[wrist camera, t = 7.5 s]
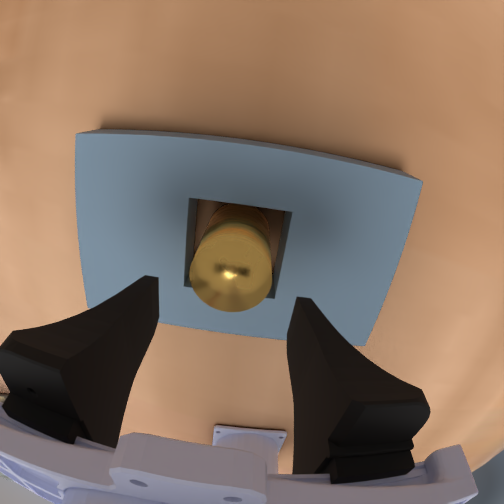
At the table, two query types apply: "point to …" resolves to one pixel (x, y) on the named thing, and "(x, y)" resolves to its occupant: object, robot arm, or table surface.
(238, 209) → the brass cylinder
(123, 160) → the jig
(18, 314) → the table surface
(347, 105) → the table surface
